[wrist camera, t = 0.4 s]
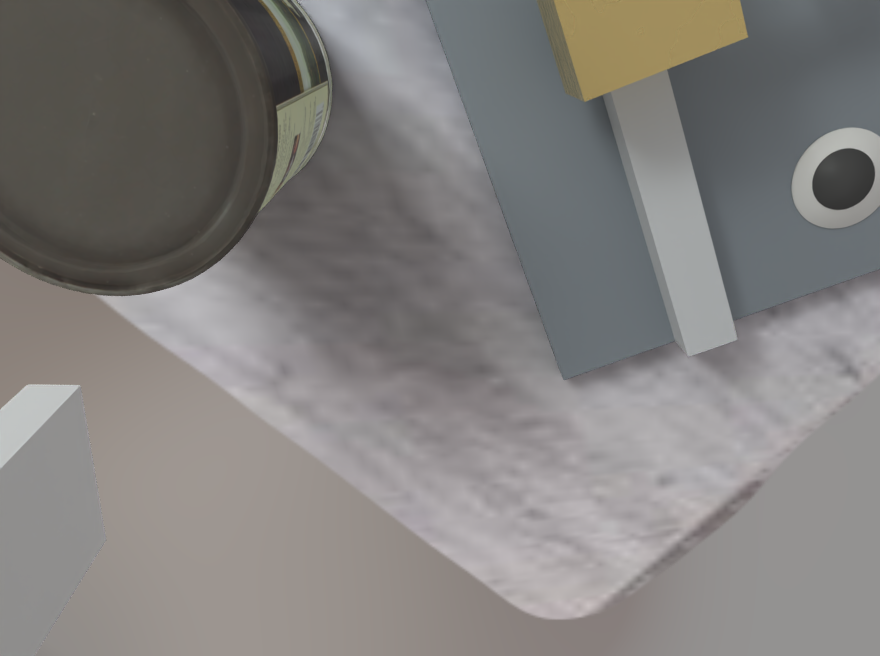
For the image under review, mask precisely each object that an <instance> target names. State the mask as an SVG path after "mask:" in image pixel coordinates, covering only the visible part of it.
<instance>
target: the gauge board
mask: <svg viewBox="0 0 880 656" xmlns="http://www.w3.org/2000/svg"><path fill="white" fill-rule="evenodd" d="M426 2H427V5H428V8H429V11H430V13H431V16H432V19H433V22H434V24H435V27H436V30H437V33H438V35H439V38H440V41H441V44H442V46H443V49H444V52H445V55H446V58H447V60H448V63H449V66H450V69H451V71H452V74H453V77H454V80H455V82H456V85H457V88H458V91H459V93H460V96H461V99H462V102H463V104H464V107H465V110H466V113H467V115H468V118H469V121H470V124H471V126H472V129H473V132H474V135H475V137H476V140H477V143H478V146H479V148H480V151H481V154H482V157H483V160H484V162H485V165H486V168H487V171H488V173H489V176H490V179H491V182H492V184H493V187H494V190H495V193H496V195H497V198H498V201H499V204H500V206H501V209H502V212H503V215H504V217H505V220H506V223H507V226H508V228H509V231H510V234H511V237H512V239H513V242H514V245H515V248H516V251H517V253H518V256H519V259H520V262H521V264H522V267H523V270H524V273H525V275H526V278H527V281H528V284H529V286H530V289H531V292H532V295H533V297H534V300H535V303H536V306H537V308H538V311H539V314H540V317H541V319H542V322H543V325H544V328H545V330H546V333H547V336H548V339H549V341H550V344H551V347H552V350H553V353H554V355H555V358H556V361H557V364H558V366H559V369H560V372H561V374H562V377H563V379H564V380H566V379H569V378H572V377H574V376H577V375H580V374H583V373H586V372H589V371H592V370H594V369H597V368H600V367H603V366H606V365H609V364H611V363H614V362H617V361H620V360H623V359H626V358H628V357H631V356H634V355H637V354H640V353H643V352H646V351H648V350H651V349H654V348H657V347H660V346H663V345H665V344H668V343H671V342H674V341H676V343H677V344H678V345H679V346H680V348H681V349H682V350H683V351H684V353H685V354H686V355H687V356H688V357H690V356H693V355H696V354H699V353H702V352H705V351H708V350H710V349H713V348H716V347H719V346H722V345H725V344H728V343H731V342H733V341H736V340H738V338H737V334H736V330H735V326H734V323H733V321H734V320H737V319H739V318H742V317H745V316H748V315H751V314H754V313H757V312H759V311H762V310H765V309H768V308H771V307H774V306H776V305H779V304H782V303H785V302H788V301H791V300H793V299H796V298H799V297H802V296H805V295H808V294H811V293H813V292H816V291H819V290H822V289H825V288H828V287H830V286H833V285H836V284H839V283H842V282H845V281H848V280H850V279H853V278H856V277H859V276H862V275H865V274H867V273H870V272H873V271H876V270H879V269H880V0H740V3H741V7H742V12H743V16H744V21H745V25H746V30H747V34H748V37H747V38H745V39H742V40H740V41H737V42H735V43H732V44H730V45H727V46H725V47H722V48H720V49H717V50H715V51H712V52H709V53H707V54H704V55H702V56H699V57H697V58H694V59H692V60H689V61H687V62H684V63H682V64H679V65H677V66H674V67H672V68H669V69H667V70H664V71H661V72H659V73H656V74H654V75H651V76H649V77H646V78H644V79H641V80H639V81H636V82H634V83H631V84H629V85H626V86H624V87H621V88H618V89H616V90H613V91H611V92H608V93H606V94H603V95H601V96H598V97H596V98H593V99H591V100H588V101H586V102H584V101H582V100H579V99H577V98H575V97H573V96H570V95H568V94H566V93H565V90H564V87H563V83H562V80H561V77H560V74H559V71H558V67H557V64H556V61H555V58H554V55H553V51H552V48H551V45H550V42H549V39H548V35H547V32H546V29H545V26H544V23H543V20H542V16H541V13H540V10H539V7H538V4H537V0H426Z"/></svg>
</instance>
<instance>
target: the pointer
mask: <svg viewBox="0 0 880 656" xmlns="http://www.w3.org/2000/svg"><path fill="white" fill-rule="evenodd" d="M537 4H538V7H539V10H540V13H541V16H542V20H543V23H544V26H545V29H546V32H547V35H548V39H549V42H550V45H551V48H552V51H553V55H554V58H555V61H556V64H557V67H558V71H559V74H560V77H561V80H562V83H563V87H564V90H565V93H566V94H568V95H570V96H573V97H575V98H577V99H579V100H582V101H584V102H586V101H588V100H591V99H593V98H596V97H598V96H601V95H603V94H606V93H608V92H611V91H613V90H616V89H618V88H621V87H624V86H626V85H629V84H631V83H634V82H636V81H639V80H641V79H644V78H646V77H649V76H651V75H654V74H656V73H659V72H661V71H664V70H667V69H669V68H672V67H674V66H677V65H679V64H682V63H684V62H687V61H689V60H692V59H694V58H697V57H699V56H702V55H704V54H707V53H709V52H712V51H715V50H717V49H720V48H722V47H725V46H727V45H730V44H732V43H735V42H737V41H740V40H742V39H745V38H747V37H748V34H747V30H746V25H745V21H744V16H743V12H742V7H741V3H740V0H537Z"/></svg>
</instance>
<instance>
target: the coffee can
mask: <svg viewBox="0 0 880 656" xmlns="http://www.w3.org/2000/svg"><path fill="white" fill-rule="evenodd" d="M331 103H332V77H331V72H330V67H329V61H328V58H327V54H326V51H325V48H324V45H323V43H322V41H321V38H320V36H319V34H318V32H317V30H316V28H315V26H314V25H313V23H312V21H311V20H310V18H309V17H308V15H307V14H306V13H305V11H304V10H303V9H302V7H301V6H300V5H299V4H298V3H297V1H296V0H0V258H1V259H2V260H4V261H5V262H7V263H9V264H11V265H12V266H14V267H16V268H17V269H19V270H21V271H23V272H25V273H27V274H29V275H31V276H33V277H35V278H37V279H39V280H42V281H45V282H47V283H50V284H53V285H56V286H59V287H62V288H66V289H69V290H74V291H79V292H83V293H88V294H97V295H106V296H130V295H140V294H147V293H152V292H156V291H160V290H164V289H167V288H171V287H173V286H176V285H179V284H182V283H184V282H186V281H188V280H190V279H193V278H194V277H196V276H198V275H199V274H201V273H203V272H205V271H206V270H207V269H209V268H210V267H212V266H213V265H214V264H216V263H217V262H218V261H220V260H221V259H222V258H223V257H224V256H225V255H226V254H227V253H228V252H229V251H230V250H231V249H232V248H233V247H234V246H235V245H236V244H237V243H238V242H239V241H240V239H241V238H242V237H243V235H244V234H245V233H246V231H247V230H248V228H249V227H250V225H251V224H252V222H253V220H254V219H255V217H256V216H257V214H258V213H259V212H260V211H261V209H262V208H263V207H264V206H265V205H266V204H267V203H268V202H269V201H270V200H271V199H272V198H273V197H274V196H275V194H276V193H277V192H278V191H279V190H280V189H281V188H282V187H283V186H284V185H285V184H286V182H287V181H288V180H289V179H291V178H292V177H293V176H295V175H296V174H297V173H298V172H299V171H300V170H301V169H302V168H303V167H304V166H306V164H307V163H308V161H309V160H310V159H311V157H312V156H313V154H314V153H315V151H316V150H317V148H318V146H319V144H320V142H321V140H322V138H323V136H324V133H325V130H326V127H327V124H328V120H329V116H330V110H331Z"/></svg>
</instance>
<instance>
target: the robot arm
mask: <svg viewBox="0 0 880 656" xmlns="http://www.w3.org/2000/svg"><path fill="white" fill-rule="evenodd" d="M105 541H106V536H105V530H104V524H103V518H102V512H101V506H100V500H99V494H98V488H97V481H96V475H95V469H94V463H93V457H92V452H91V445H90V440H89V433H88V428H87V422H86V416H85V410H84V404H83V398H82V391H81V386H80V385H27V386H25V387H24V388H23V389H22V390H21V391H20V392H19V393H18V394H17V395H15V396H14V397H13V398H12V399H11V400H10V401H9V402H8V403H7V404H6V405H4V406H3V407H2V408H1V409H0V656H35V654H36V653H37V651H38V649H39V648H40V646H41V645H42V643H43V641H44V640H45V638H46V637H47V635H48V633H49V632H50V630H51V628H52V627H53V625H54V624H55V622H56V620H57V619H58V617H59V616H60V614H61V612H62V611H63V609H64V607H65V606H66V604H67V603H68V601H69V599H70V598H71V596H72V595H73V593H74V591H75V590H76V588H77V586H78V585H79V583H80V582H81V580H82V578H83V577H84V575H85V573H86V572H87V570H88V569H89V567H90V565H91V564H92V562H93V561H94V559H95V557H96V556H97V554H98V553H99V551H100V549H101V548H102V546H103V544H104V543H105Z"/></svg>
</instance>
